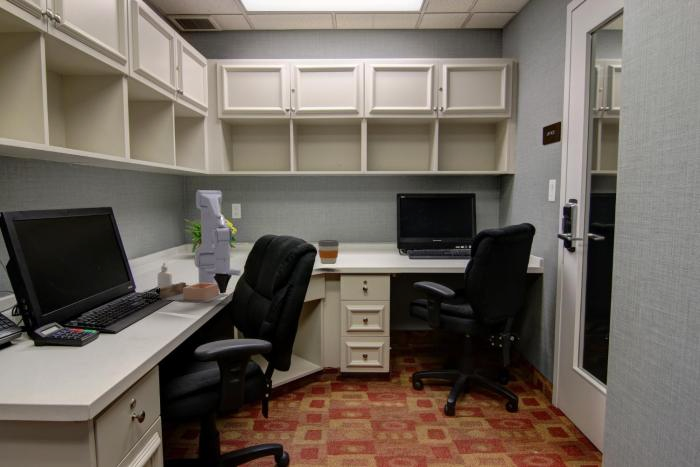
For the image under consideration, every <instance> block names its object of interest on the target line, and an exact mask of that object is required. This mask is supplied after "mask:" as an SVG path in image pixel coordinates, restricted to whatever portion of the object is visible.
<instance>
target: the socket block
mask: <svg viewBox="0 0 700 467" xmlns="http://www.w3.org/2000/svg"><path fill="white" fill-rule="evenodd" d="M219 294H220V291H219V287H218V285H217V284H214V283H199V282H197V283H194V284H191V285H187V286H186V287H184V288H183V299H189V300H206V299H209V298H212V297H214V296H217V295H219Z"/></svg>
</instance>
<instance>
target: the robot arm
mask: <svg viewBox="0 0 700 467" xmlns="http://www.w3.org/2000/svg"><path fill="white" fill-rule="evenodd" d="M222 203H223V193H222V191H220V189H218V190H209V189H208V190H204V189H203V190H200V189H198V190H197V191H196V193H195V206H196V208H197V209H199V211H200V216H201V217H200V219H201V220H200V224H201V225H200V227H201V228H200V229H201V233H200V234H201V238H200V239H201V245H200V246H199V247H198V248H196V249H195V251H194V258H193V260H194V266H195V267H196V268H198V283H214V284H217V285H218V287H219V294H226V292H227V289H228V285H229V282H230V280H231V278H232V276H237V277H239V276H241V270H240V269H234V268H233V269H232V268H231V250H230V249H231V247H230V246H231V243H230V242H232V240H233V239H232V238H233V234H232V229H231V227H229V225H227V221H226V218H225V215H223V214H222V213H221V209H220V206H221V204H222Z"/></svg>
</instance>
